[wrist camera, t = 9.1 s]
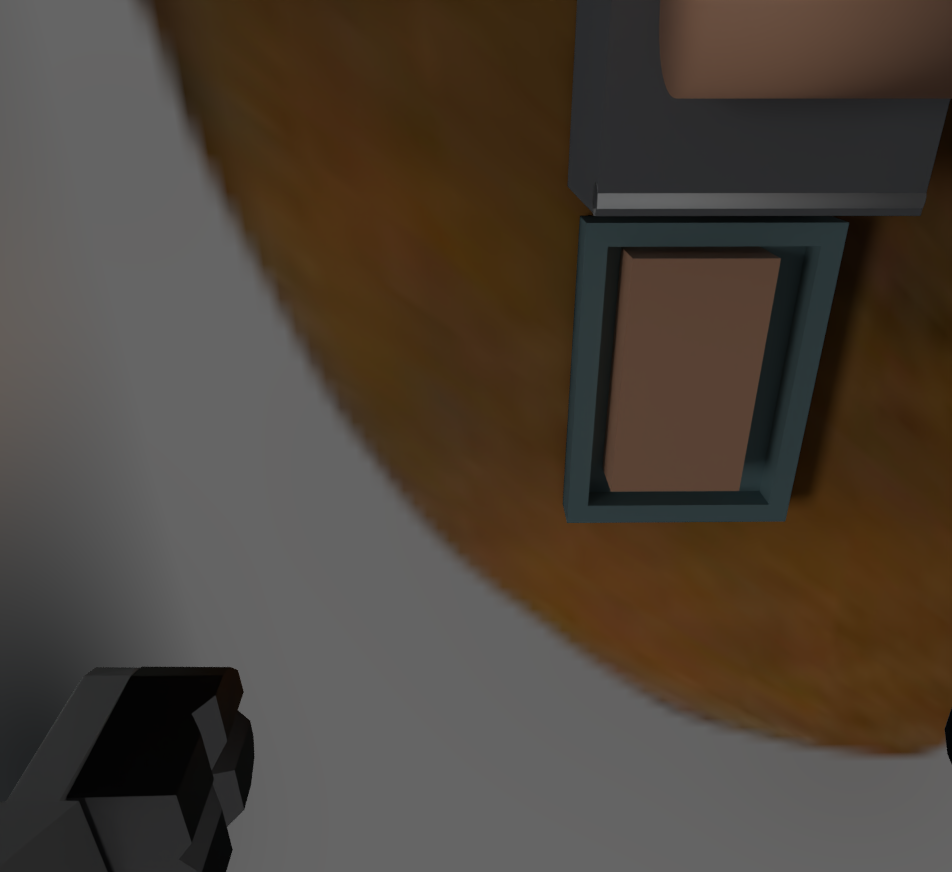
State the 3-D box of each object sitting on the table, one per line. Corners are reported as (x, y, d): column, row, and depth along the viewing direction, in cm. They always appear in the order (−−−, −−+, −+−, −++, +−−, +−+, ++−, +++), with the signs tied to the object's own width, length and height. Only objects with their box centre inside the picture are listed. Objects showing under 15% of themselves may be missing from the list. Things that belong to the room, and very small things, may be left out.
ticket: (621, 246, 27) (632, 258, 25) (759, 246, 27) (781, 258, 25) (602, 467, 30) (610, 491, 29) (722, 466, 30) (739, 490, 29)
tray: (580, 215, 26) (585, 223, 25) (829, 215, 27) (849, 222, 25) (562, 503, 32) (567, 522, 30) (771, 502, 32) (785, 521, 30)
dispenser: (581, -88, 22) (678, -228, 12) (874, -88, 23) (1209, -225, 12) (567, 187, 26) (633, 257, 16) (821, 187, 26) (1048, 256, 16)
